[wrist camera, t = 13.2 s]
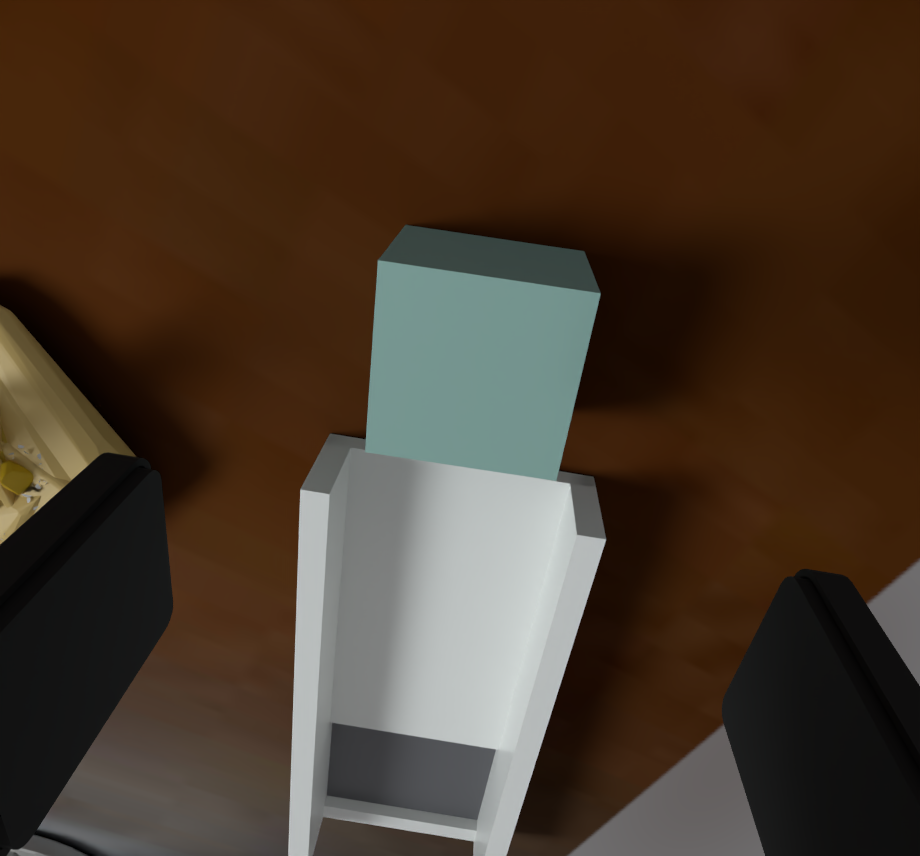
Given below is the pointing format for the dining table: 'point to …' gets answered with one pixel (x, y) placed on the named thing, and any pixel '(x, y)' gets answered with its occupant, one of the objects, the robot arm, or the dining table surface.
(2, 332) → the figurine with sign
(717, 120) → the dining table surface
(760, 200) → the dining table surface
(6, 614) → the robot arm
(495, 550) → the trough
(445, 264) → the green block
